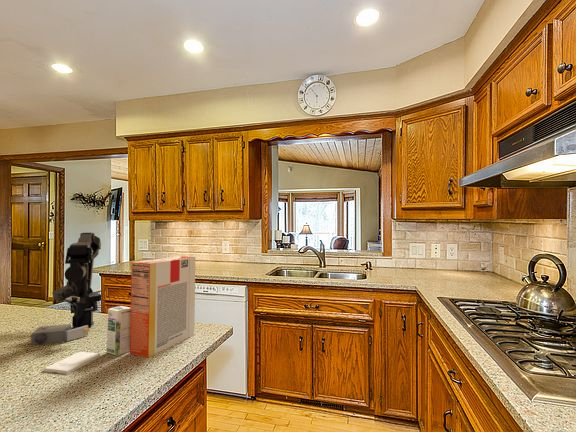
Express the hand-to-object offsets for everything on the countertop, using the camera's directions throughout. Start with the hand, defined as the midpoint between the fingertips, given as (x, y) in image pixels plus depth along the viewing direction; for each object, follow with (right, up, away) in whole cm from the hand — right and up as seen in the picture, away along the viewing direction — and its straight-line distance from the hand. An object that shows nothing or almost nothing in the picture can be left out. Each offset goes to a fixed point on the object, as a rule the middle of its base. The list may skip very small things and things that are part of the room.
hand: (78, 318), depth 124 cm
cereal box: (+35, -7, -7) cm, 37 cm away
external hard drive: (+14, -7, -24) cm, 29 cm away
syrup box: (+23, -7, -15) cm, 28 cm away
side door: (+2, -6, -4) cm, 7 cm away
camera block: (-7, -6, -4) cm, 10 cm away
